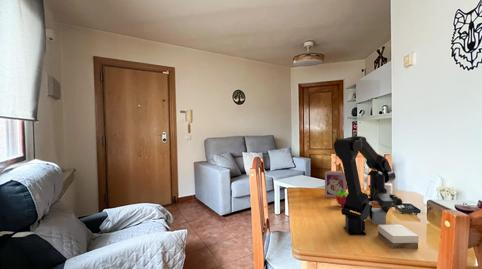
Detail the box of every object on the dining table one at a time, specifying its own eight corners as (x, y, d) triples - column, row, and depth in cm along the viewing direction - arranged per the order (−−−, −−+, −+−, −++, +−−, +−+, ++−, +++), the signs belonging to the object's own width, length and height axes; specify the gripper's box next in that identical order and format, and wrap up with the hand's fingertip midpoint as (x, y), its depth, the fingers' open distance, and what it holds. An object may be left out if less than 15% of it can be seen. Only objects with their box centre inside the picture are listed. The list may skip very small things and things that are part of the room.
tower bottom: (391, 249, 82) (391, 243, 82) (377, 237, 91) (377, 231, 91) (418, 250, 81) (418, 243, 81) (401, 237, 90) (401, 231, 90)
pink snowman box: (324, 196, 139) (324, 172, 138) (325, 193, 146) (325, 169, 145) (345, 198, 134) (345, 173, 134) (345, 195, 141) (345, 170, 140)
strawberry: (348, 210, 117) (348, 190, 117) (334, 206, 123) (334, 188, 122) (352, 206, 122) (352, 188, 121) (338, 203, 127) (338, 185, 126)
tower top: (392, 243, 81) (393, 236, 81) (377, 231, 90) (377, 224, 90) (418, 242, 81) (418, 235, 81) (400, 230, 90) (400, 224, 90)
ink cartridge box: (372, 203, 126) (372, 176, 125) (374, 201, 130) (374, 175, 129) (390, 207, 120) (390, 179, 119) (392, 204, 124) (392, 177, 123)
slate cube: (373, 223, 101) (374, 212, 101) (368, 219, 106) (368, 208, 106) (385, 223, 101) (385, 212, 101) (379, 219, 106) (379, 208, 106)
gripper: (364, 190, 95) (364, 227, 96) (411, 190, 94) (410, 227, 95) (352, 183, 106) (352, 216, 107) (394, 182, 105) (394, 216, 106)
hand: (376, 219), depth 104 cm, fingers closed on slate cube, 5 cm apart
